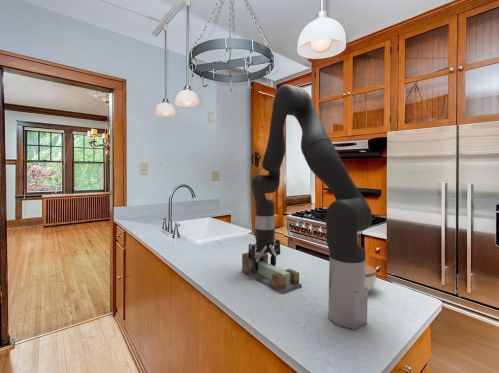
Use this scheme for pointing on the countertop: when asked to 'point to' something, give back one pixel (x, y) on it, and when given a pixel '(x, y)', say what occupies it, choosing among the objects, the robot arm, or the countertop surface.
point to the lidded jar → (370, 276)
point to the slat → (271, 271)
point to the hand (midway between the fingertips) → (264, 268)
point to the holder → (277, 279)
